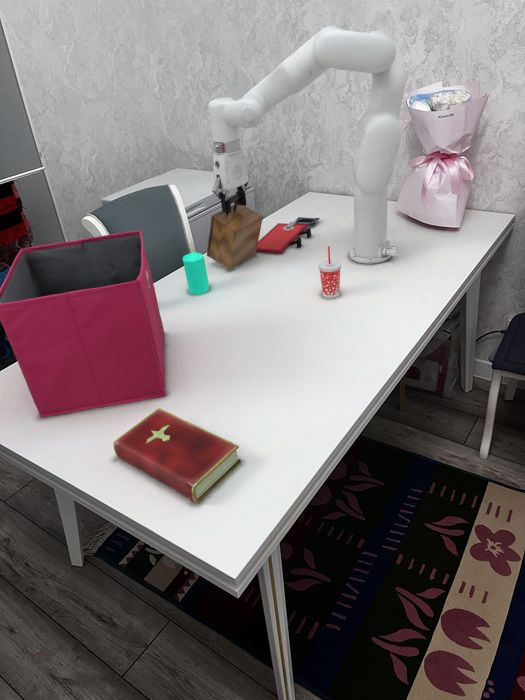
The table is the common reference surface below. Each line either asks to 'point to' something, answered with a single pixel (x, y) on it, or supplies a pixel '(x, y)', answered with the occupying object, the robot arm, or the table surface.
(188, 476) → the hardcover book
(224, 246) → the wooden drawer
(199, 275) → the candle
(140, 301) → the storage bin
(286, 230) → the red board with handle
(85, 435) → the table surface
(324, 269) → the beverage cup
